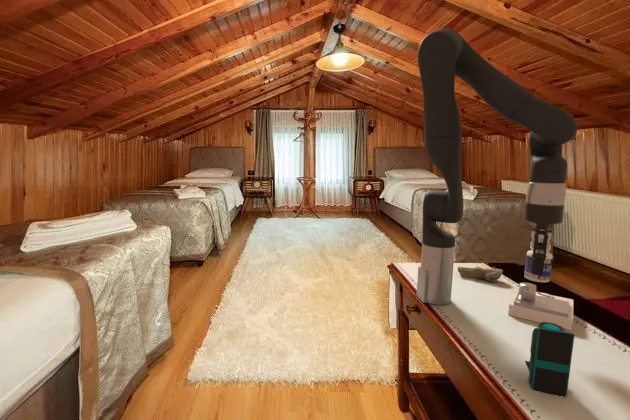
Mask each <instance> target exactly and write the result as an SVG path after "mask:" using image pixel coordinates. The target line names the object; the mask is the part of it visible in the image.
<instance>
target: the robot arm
mask: <svg viewBox="0 0 630 420" xmlns="http://www.w3.org/2000/svg"><path fill="white" fill-rule="evenodd" d="M417 65H418V70H419V75H420V76H419V77H420V82H421V87H422V88H421V89H422V95H423V135H424V136H423V137H424V150H425V153H426V155H427V157H428V159H429V160H430V162H431V163H432V164H433V166H434V167H435V168H436V169H437V171H438V172H439V173H440V175H441V176H442V178H443V179H444V182H445V185H446V187H447V190H444V191H443V190H428V191H427V192H426V193H425V194H424V196H423V200H422V232H421V233H422V234H421V235H422V240H421V257H420V265H419V266H417V268H418V269H417V282H416V283H417V284H416V296H417V297H418V299H420V300H421V302H422V303H423V304H424V303H425V304H430V305H434V306H435V305H436V306H437V305H438V306H443V305H449V304H450V303H451V301H452V291H453V290H452V286H453V276H454V275H453V274H454V261H455V247H456V246H455V245H456V237H455V236H454V235H453V234H451V233H449V232H447V231H445V230H443V229H442V228H440V226H438V224H437V223H445V224H458V223H459V222H460V221H461V220H462V219H463V216H464V209H465V207H464V191H463V190H464V189H463V181H462V149H463V148H462V144H463V143H462V142H463V138H462V137H463V135H462V134H463V133H462V131H463V129H462V120H461V115H460V110H459V107H458V104H457V101H456V99H457V98H456V94H455V93H456V92H455V80H456V77H458V78H459V79H460V80H462V81H463V82H465V83H466V84H467V85H468V86H469V87H470V88H471V89H472V90H474V91H475V93H476V94H477V95H478V96H479V97H480V98H481V100H483V102H484V103H486V105H488V106H489V107H490V108H491V109H493V110H494V111H495V112H496V113H498V114H499V115H501V116H502V117H503V118H505V119H507V120H508V121H509V122H511V123H512V124H515V125H520V126H522V127H525V128H526V129H527V130H529V131H530V133H529V139H528V140H529V156H530V163H531V164H530V170H529V178H528V179H529V181H528V186H527V190H526V197H525V208H524V218H523V219H524V220H525V221H527V222H529V223H535V224H536V226H535V227H532V228H531V234H530V236H531V242H532V244H531V243H530V247H531V248H532V249H533V254H532V257H533V264H532V274H534V275H540V276H541V275H543V269H544V260H545V259H546V251H548V250H549V244H550V241H551V239H552V234H553V232H552V231H553V230H552V229H551V228H550V229H549V226H550V225H560V224H562V223H563V220H564V211H565V205H566V204H565V202H566V195H567V193H566V191H567V190H566V181H567V173H568V161H567V159H565V158H564V157H563V145H564V144H567V143H569V142H571V140H573V139H574V137H575V136H576V134H577V133H578V124H577V121H576V120H575V118H574V117H573V116H572V115H571V114H570V113H569V112H567V111H566V110H564V109H562V108H560V107H559V106H556V105H554V104H552V103H550V102H547V101H545V100H543V99H541V98H539V97H537V96H536V95H535V94H533V92H531V91H529V89H527V88H525V87H524V86H522V85H521V84H519V83H518V82H516V81H515V80H513V79H512V78H511V77H510V76H507V75H506V74H505V73H504V72H502V71H501V70H499V69H497V67H495V66H493V64H491V63H489V62H488V61H487V59H485V58H484V57H482V55H480V54H479V53H478V52H477V51H476V50H475V49H474V48H473V47H472V46H471V44H469V43H468V42H467V40H465V39H464V37H463V36H462V35H461V34H460V33H459V32H458V31H457V30H455V29H453V28H450V27H444V28H439V29H436V30H434V31H432V32H430V33H429V34H427V35H426V36H425V37H424V38H423V39H422V40H421V43H420V44H419V47H418V51H417ZM455 76H456V77H455ZM531 248H530V249H531ZM537 249H538V250H543V254H541V253H536V250H537Z"/></svg>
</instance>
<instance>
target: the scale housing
mask: <svg viewBox="0 0 630 420" xmlns="http://www.w3.org/2000/svg"><path fill="white" fill-rule="evenodd" d="M518 292H519V287H517V288H516V289H515V291H514V294H513V296H512V297H511V300H510V302H509V303H508V304H509V305H508V313H507V314H508V315H509V316H512V317H516V318H520V319H524V320H529V321H532V322H537V323H538V324H539V323H540V322H549V323H553V324H557V325H559V326H561V327H563V328H564V330H567V331H573V325H574V324H573V322H574V299H572V298H567V297H562V296H557V295H553V294H549V293H546V292H540V291H536V295H539V296H543V297H548V298H553V299H558V300H562V301H567V302H569V315H568V317H565V316H560V315H556V314H552V313H548V312H543V311H539V310H535V309H530V308H526V307H522V306H518V305H514V301H515V298H516V296H517V294H518Z"/></svg>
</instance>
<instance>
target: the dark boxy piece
mask: <svg viewBox="0 0 630 420" xmlns="http://www.w3.org/2000/svg"><path fill="white" fill-rule="evenodd" d="M565 330H566V329H564V328H563V327H561V326H559V325H557V324H553V323H549V322H540V323H539V322H538V327H534V329H533V330H532V332H531V333H532V334H531V342H530V356H529V361H528V360H525V361H524V362H525V364H526V367H527V370H528V383H529V387H530V388H531V390H532V391H534V392H538V393H543V394H547V395H552V396H556V395H557V397H560V396H563V397H562V398H566V397H567V394H568V387H569V380H570V372H571V364H572V358H573V357H572V356H573V351H574V350H573V349H574V343H575V342H574V341H575V336H576V335H575V333H573V332H570V331H565Z"/></svg>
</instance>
